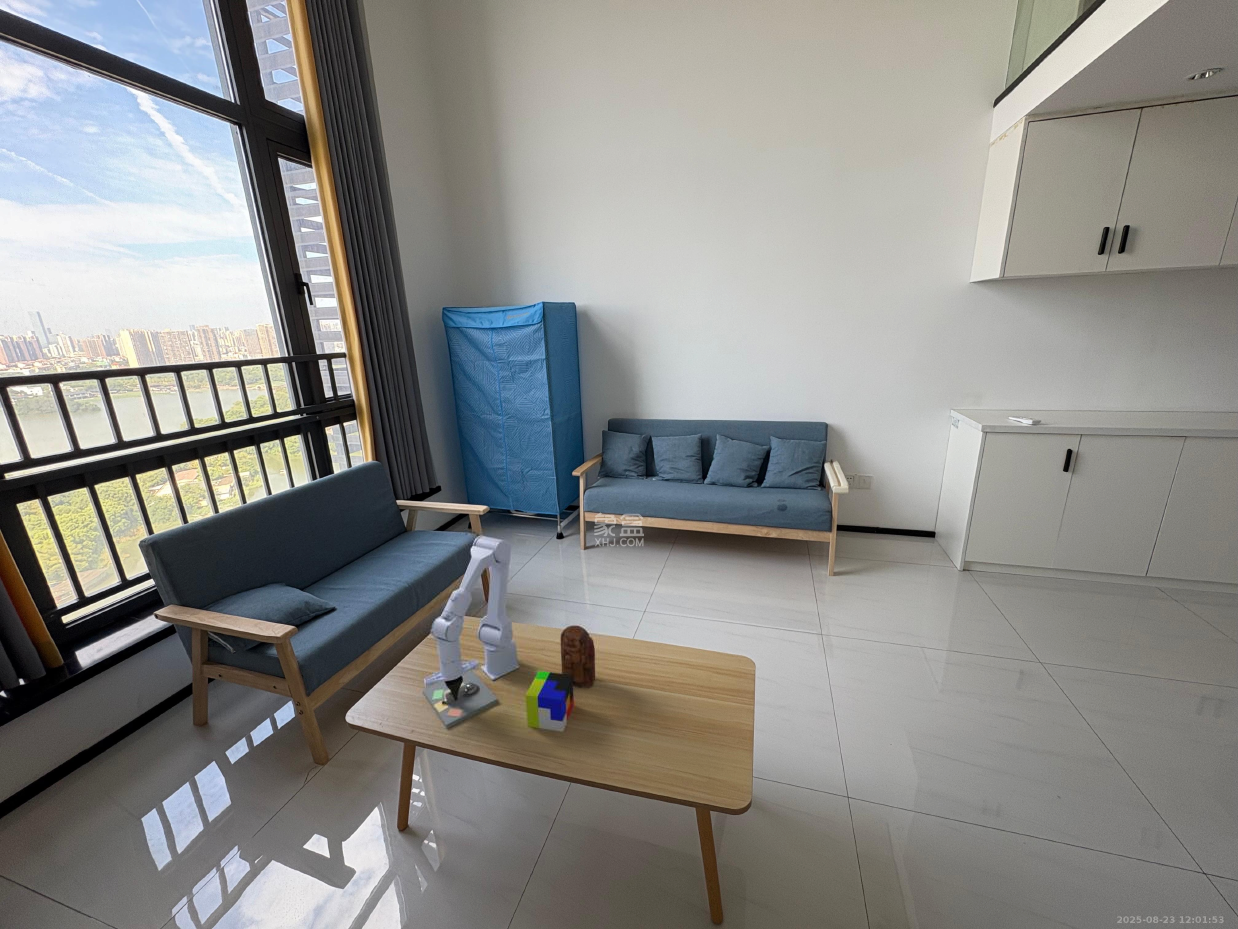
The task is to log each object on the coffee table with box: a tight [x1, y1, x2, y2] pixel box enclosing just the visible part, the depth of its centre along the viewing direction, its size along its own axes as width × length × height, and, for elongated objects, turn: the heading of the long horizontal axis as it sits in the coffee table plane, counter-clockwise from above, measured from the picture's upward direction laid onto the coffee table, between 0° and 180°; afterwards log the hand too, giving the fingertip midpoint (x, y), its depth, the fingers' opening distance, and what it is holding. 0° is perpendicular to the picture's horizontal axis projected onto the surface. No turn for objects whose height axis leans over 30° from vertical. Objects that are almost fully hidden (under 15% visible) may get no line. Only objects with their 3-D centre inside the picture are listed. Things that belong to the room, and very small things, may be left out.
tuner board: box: [422, 670, 498, 729], centre depth 143 cm, size 15×18×1 cm
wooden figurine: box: [560, 625, 596, 689], centre depth 148 cm, size 12×6×18 cm, turn 72°
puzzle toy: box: [525, 670, 575, 733], centre depth 135 cm, size 10×10×10 cm
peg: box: [441, 682, 477, 704], centre depth 142 cm, size 10×4×3 cm, turn 132°
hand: (455, 698), depth 139 cm, fingers closed, pressing on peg
